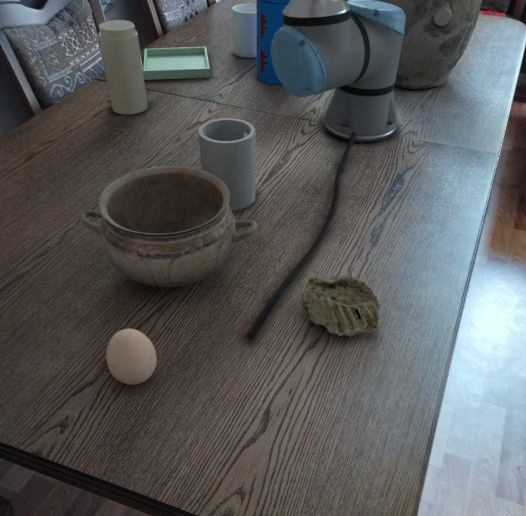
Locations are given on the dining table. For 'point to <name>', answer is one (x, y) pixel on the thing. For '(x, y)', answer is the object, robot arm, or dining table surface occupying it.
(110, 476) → the dining table surface
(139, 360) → the egg
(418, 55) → the clay pot
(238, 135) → the cup
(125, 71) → the jar
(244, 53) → the mug
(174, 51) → the tray
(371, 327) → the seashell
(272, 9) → the thermos
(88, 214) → the cooking pot
